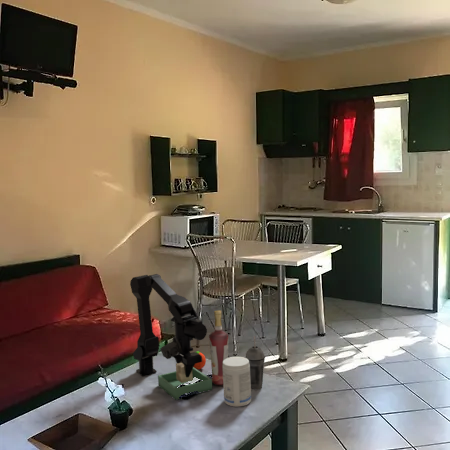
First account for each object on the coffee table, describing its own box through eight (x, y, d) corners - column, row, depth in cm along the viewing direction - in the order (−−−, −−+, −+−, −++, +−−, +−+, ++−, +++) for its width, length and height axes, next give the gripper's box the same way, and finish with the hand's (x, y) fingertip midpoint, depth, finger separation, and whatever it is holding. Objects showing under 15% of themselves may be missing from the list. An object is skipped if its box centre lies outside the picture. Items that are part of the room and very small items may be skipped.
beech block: (176, 379, 194) (175, 363, 193) (187, 376, 196) (186, 361, 195) (181, 383, 190) (181, 367, 189) (192, 380, 192) (192, 364, 191)
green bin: (158, 385, 196) (158, 375, 195) (193, 376, 203) (193, 366, 203) (175, 400, 183) (175, 389, 182) (212, 389, 191) (211, 379, 190)
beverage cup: (266, 383, 195) (264, 332, 193) (265, 391, 188) (264, 338, 185) (246, 383, 195) (245, 332, 193) (245, 391, 188) (244, 338, 186)
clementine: (191, 364, 216) (191, 348, 215) (208, 365, 215) (207, 348, 214) (187, 372, 208) (186, 355, 208) (204, 372, 207) (203, 355, 207)
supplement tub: (250, 395, 185) (249, 355, 184) (252, 407, 176) (251, 365, 174) (223, 396, 185) (221, 356, 183) (224, 408, 175) (222, 366, 174)
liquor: (231, 386, 193) (228, 313, 190) (211, 387, 192) (209, 314, 189) (228, 378, 200) (226, 308, 198) (209, 380, 199) (207, 309, 197)
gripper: (152, 332, 195) (154, 371, 196) (173, 345, 179) (175, 388, 181) (179, 326, 201) (180, 365, 202) (202, 339, 185) (203, 381, 186)
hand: (184, 374), depth 193 cm, fingers open, 5 cm apart
